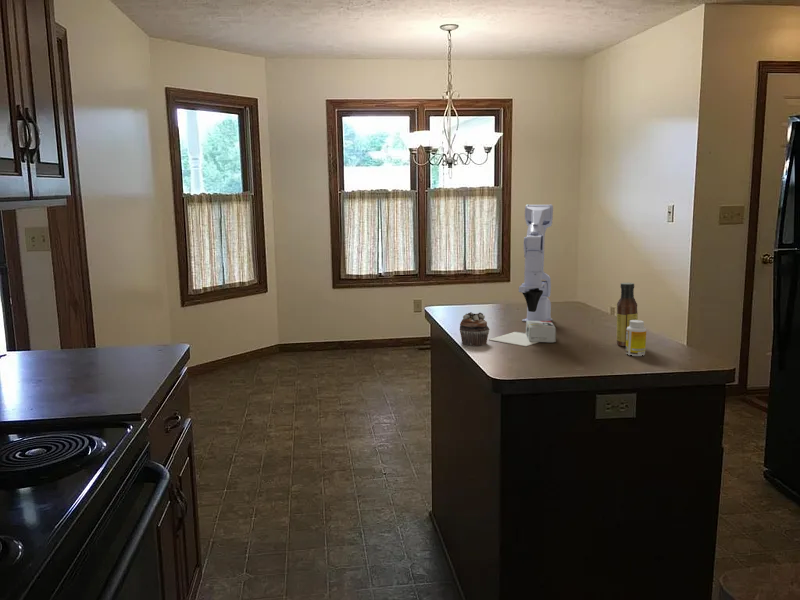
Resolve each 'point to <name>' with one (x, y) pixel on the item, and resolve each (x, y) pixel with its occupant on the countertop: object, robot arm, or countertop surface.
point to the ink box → (540, 331)
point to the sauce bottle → (625, 311)
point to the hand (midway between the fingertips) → (532, 311)
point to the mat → (514, 339)
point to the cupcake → (474, 330)
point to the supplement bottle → (636, 338)
